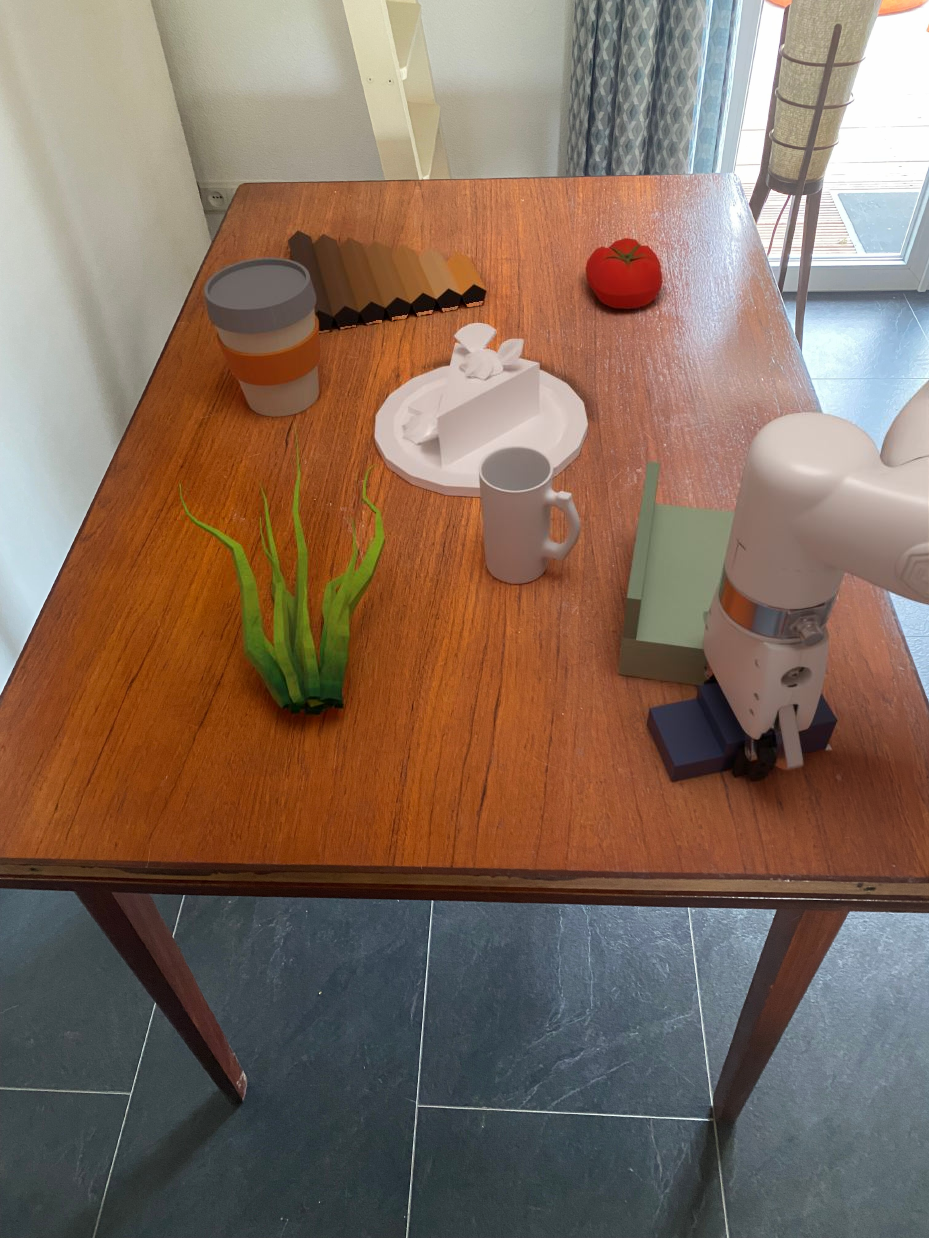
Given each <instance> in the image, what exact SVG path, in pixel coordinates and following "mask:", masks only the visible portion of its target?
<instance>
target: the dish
mask: <svg viewBox="0 0 929 1238" xmlns="http://www.w3.org/2000/svg"><path fill="white" fill-rule="evenodd" d="M497 334H498V330H497V329H496V328H495V327H493V326H491V325H490V324H488V323H483V322H473V323H469V324H466V325H464V326H463V327H460V329H458V331H456V333H455V334H454V335H453V337H454V338H455V340H456V341H457V342H454V347H453V351H452V356H451V359H450V364H449V365H444V366H440V367H437V368H435V369H433V370H430V371H428V372H425V373H422V374H419V375H417V376H414V377H413V378H411V379H409V380H407V382H405V383H403V385H400V386H399V387H397V389H395V390H394V391H392V392H391V393H389V394H388V396H387V398H386V399H385V401H384V402H383V404H382V405H381V406H380V408H379V410H378V411H377V413H376V414H375V424H374V443H375V447H376V449H377V451H378V453H379V454H380V456H381V458H382V460H383V462H384V464H385V465H386V467H387V468H388V469H389V470H391V471H392V472H393V473H395V474H396V475H398V476H399V477H400V478H401V479H403V480H404V481H406V482H407V483H409V484H410V485H411V486H414V487H419V488H421V489H423V490H428V491H431V492H434V493H437V494H440V495H443V496H450V497H451V496H452V497H454V496H455V497H470V498H481V496H480V482H479V465H480V462H481V460H482V459H483V458H484V457H485V456H486V455H487V454H489V453H490V452H492V451H494V450H496V449H499V448H503V447H508V446H525V447H530V448H534V449H537V450H539V451H541V452H542V453H544V454H545V455H546V456H547V457H548V458H549V459H550V460H551V462H552V465H553V478H556V477H557V476H558V475H560V474H561V473H562V472H563V471H564V470H565V469H566V468H567V467H568V466H570V465H571V464H572V463H573V462H574V461H575V460H576V459H577V458H578V457H579V456H580V453H581V450H582V449H583V446H584V443H585V441H586V438H587V436H588V429H589V424H588V423H589V422H588V417H587V413H586V408H585V403H584V401H583V400H582V398H580V397H579V395H578V394H577V393H576V391H574V390H573V388H572V387H571V386H570V385H569V384H568V383H567V382H565V381H564V380H561V379H560V378H557V377H556V376H554V375H552V374H550V373H549V372H547V371H545V370H543V369H540V368H541V367H540V366H541V365H540V362H537V361H533V360H529V359H525V358H522V357H521V355H522V354H523V348H524V344H525V340H524V338H509V339H507V340H505V341H502V342H501V344H500V346H499V348H498V350H497V351H496V350H494V349H490V348H487V347H488V346H489V344H490V343H491V342H492V340H493V339H494V338H495V337H496V335H497Z"/></svg>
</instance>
